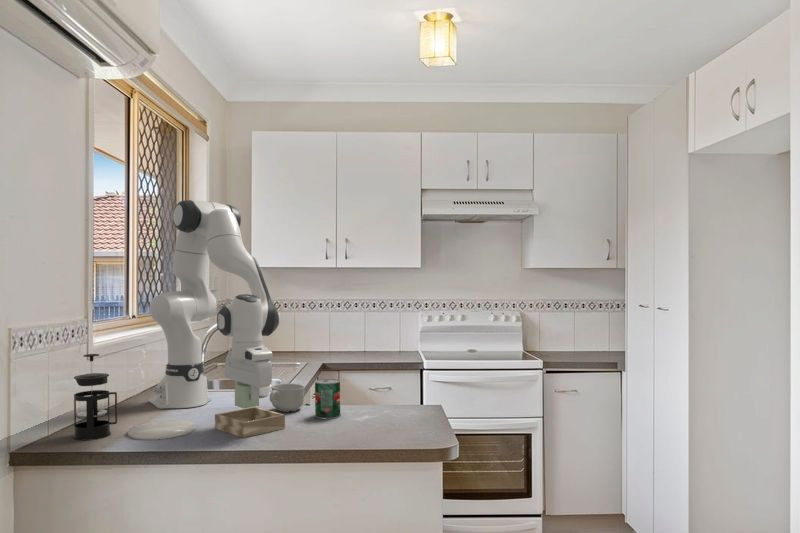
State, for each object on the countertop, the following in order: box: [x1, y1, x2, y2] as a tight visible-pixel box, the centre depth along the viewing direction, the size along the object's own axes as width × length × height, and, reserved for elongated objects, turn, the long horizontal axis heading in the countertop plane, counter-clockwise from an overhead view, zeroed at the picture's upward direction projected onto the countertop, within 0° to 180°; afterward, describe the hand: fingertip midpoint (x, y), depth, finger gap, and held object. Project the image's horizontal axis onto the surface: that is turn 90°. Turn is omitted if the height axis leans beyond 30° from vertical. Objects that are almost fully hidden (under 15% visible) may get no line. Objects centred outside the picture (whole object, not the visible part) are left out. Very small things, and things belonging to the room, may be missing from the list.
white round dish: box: [127, 419, 196, 441], centre depth 184 cm, size 18×18×1 cm
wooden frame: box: [214, 406, 286, 438], centre depth 186 cm, size 16×14×4 cm
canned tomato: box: [314, 378, 341, 420], centre depth 201 cm, size 8×8×11 cm
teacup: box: [269, 383, 306, 413], centre depth 208 cm, size 14×11×8 cm
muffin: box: [259, 383, 273, 398], centre depth 233 cm, size 6×6×7 cm
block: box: [234, 383, 260, 409], centre depth 187 cm, size 5×5×6 cm
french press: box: [73, 353, 118, 441], centre depth 180 cm, size 12×9×23 cm
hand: (247, 398), depth 187 cm, fingers closed on block, 5 cm apart
